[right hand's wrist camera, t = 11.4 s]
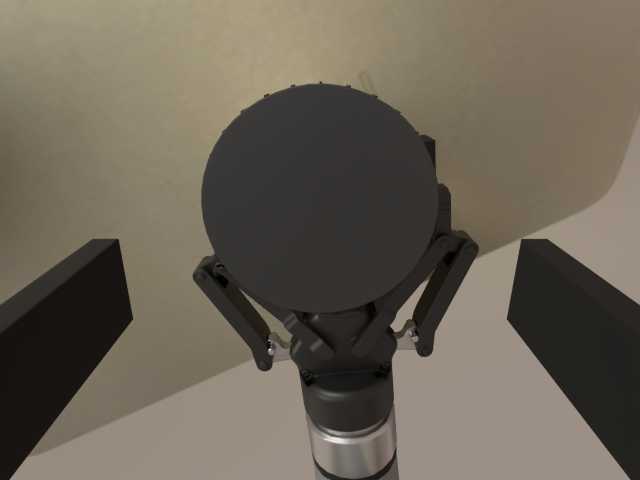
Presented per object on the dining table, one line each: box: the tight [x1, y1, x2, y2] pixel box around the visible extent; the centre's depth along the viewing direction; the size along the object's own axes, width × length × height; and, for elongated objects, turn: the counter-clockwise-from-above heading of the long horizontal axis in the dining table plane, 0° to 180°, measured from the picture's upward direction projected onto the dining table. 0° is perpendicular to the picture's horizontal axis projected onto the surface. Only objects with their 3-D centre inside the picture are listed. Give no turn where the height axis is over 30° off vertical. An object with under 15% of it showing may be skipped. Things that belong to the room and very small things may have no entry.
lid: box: [201, 82, 439, 313], centre depth 21 cm, size 11×11×2 cm
